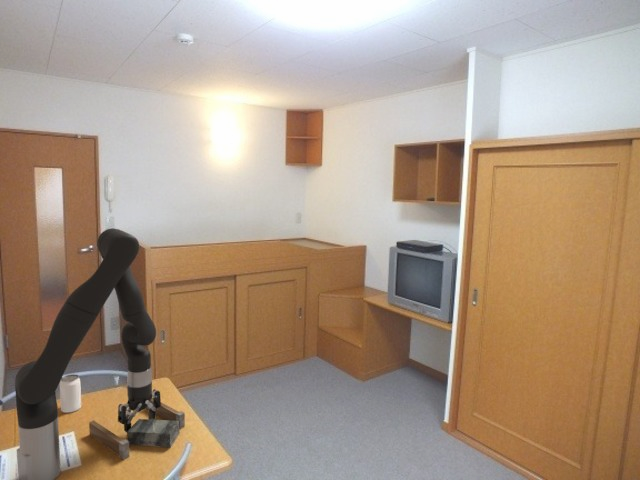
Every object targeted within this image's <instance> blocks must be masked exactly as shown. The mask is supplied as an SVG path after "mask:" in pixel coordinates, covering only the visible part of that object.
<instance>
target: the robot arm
mask: <svg viewBox="0 0 640 480" xmlns="http://www.w3.org/2000/svg"><path fill="white" fill-rule="evenodd" d="M96 247H97V250H98V252H99V255H100V257H101V258H102V260H101V262H100V264H99V266H98V268H97V269H96V271H95V272H94V273H93V274H92V275H91V276H90V277H89V278H87V280H86V281H84V282H83V283H81V284H80V285H79V286H78V287H77V288H75V289H74V290H73V291H72V292H71V293H70V294H69V296H68V297H67V298H66V301H65V302H64V303H63V305H62V307H61V308H60V309H59V311H58V313H57V315H56V318H55V319H54V321H53V323H52V324H53V325H52V327H51V330H50V332H49V336H48V339H47V342H46V344H45V346H44V349H43V351H42V352H41V354H40V356H39V357H38V358H37V360H32V361H29V362H27V363H26V364H24V365H22V366H21V367H20V368H19V370H18V371H17V373H16V375H15V378H14V379H15V380H14V387H15V390H14V391H15V401H16V402H15V403H16V415H17V426H18V443H19V448H17V449H16V460H17V474H18V476H17V477H18V480H55V479H57V478H58V477H59V476H60V473H61V471H62V470H61V454H60V453H61V452H60V451H61V450H60V434H59V433H60V431H59V430H60V429H59V427H60V426H59V409H58V408H59V407H58V401H57V394H56V391H57V388H58V387H59V386H60V382H61V378H62V377H64V373H65V372H66V369H67V367H68V365H69V363H70V361H71V360H72V358H73V356H74V354H75V353H76V351H77V350H78V348H79V347H80V345H81V344H82V342H83V340H84V338H85V337H86V335H87V334H88V332H89V331H90V329H91V328H92V326H93V325H94V323H95V322H96V320H97V318H98V316H99V314H100V313H101V311H102V309H103V307H104V306H105V304H106V302H107V301H108V299H109V297H110V296H111V294H112V293H113V291H114V290H115V294H116V298H117V301H118V306H119V310H120V313H121V317H122V319H123V320H124V321H125V322H127V323H125V325H124V326H122V329H121V336H120V337H121V343H122V345H123V348H124V351H125V354H126V357H127V374H126V375H127V376H126V380H127V381H126V386H127V389H126V390H127V393H126V394H127V402H126V403H124V404H122V403H119V404H118V407H117V422H118V423H120V424H122V425H123V429H124V430H123V431H124V432H125V433H127V431H128V430H129V429H130V428H131V427H132V420H133V419H134V418H135V417H136V415H137V413H140V412H141V411H143V410H147V409H146V407H148V408H149V409H150V410H149V411H148V419H151V420H152V419H154V420H156V414H155V411H156V409H157V408H158V407H160V406H161V403H162V401H161V400H162V399H161V391H160V390H157V389H156V388H155V389H153V373H152V372H153V371H152V359H151V358H152V354H151V352H150V350H149V349H147V348H145V347H143V346H150V345H151V344H153V343H154V341H155V340H156V336H157V329H156V326H155V323H154V321H153V320H152V318H151V317H150V315H149V313H148V311H147V310H146V306H145V302H144V297H143V293H142V292H141V289H140V286H139V285H138V282H137V281H136V279H135V277H134V275H133V273H132V270H131V267H130V266H131V265H132V264H133V262H134V261H135V259H136V258H137V256H138V254H139V251H140V242H139V240H138V238H137V237H136V236H134V235H132V234H130V233H128V232H126V231H124V230H121V229H119V228H114V227H113V228H107V229H105V230H103V231H102V232H101V233H100V234H99V235H98V237H97V242H96ZM152 398H153V402H154V404H152V403H150V401H151V399H152Z"/></svg>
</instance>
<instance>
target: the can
mask: <svg viewBox="0 0 640 480" xmlns="http://www.w3.org/2000/svg"><path fill="white" fill-rule="evenodd" d="M81 390H82V389H81V379H80V376H79V375H78V374H74V373H73V374H67V375H63V376H62V378H61V380H60V383H59V398H60V399H59V400H60V401H59V402H60V411H61V412H62V413H64V414H71V413H76V412H77V411H79V410H80V409H81V407H82V391H81Z"/></svg>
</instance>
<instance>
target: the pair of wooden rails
mask: <svg viewBox="0 0 640 480" xmlns="http://www.w3.org/2000/svg"><path fill="white" fill-rule="evenodd" d="M150 403H152V404H154V402H153V397H152V399H151V401H150ZM145 410H147V411H148V412H149V410H150V409H149V408H148V407H146V409H145ZM155 416H157V417H159V418H161V419H162V420H170V421H179V430H180V429H182V428H185V425H186V424H185V423H186V422H185V421H186V420H185V418H186V417H185V416H186V415H185V412H184V411H182V410H180V411H178V410H176V409H175V408H173V407H170V406H169V405H167V404H166V403H163V402H161V406H160V407H158V408H157V409H156V411H155ZM88 423H89V424H88V425H89V427H88V428H89V430H88V431H89V436H91V437H92V438H93V439H95V440H96V441H97V442H99V443H100V444H102V445H103V446H104V447H106V448H107V449H109V450H110V451H112V452H113V453H114V454H115V455H118V456H119V458H120V459H121V460H122V461H124V460H125V459H128V458H130V445H129V441H128V440H127V438H125V439H122V438H121V437H120V436H118V435H117V434H115V433H114V432H112V431H111V430H110V429H108V428H106V427H105V426H103V425H102V424H101V423H98V422H97V421H95V420H91V421H89V422H88Z"/></svg>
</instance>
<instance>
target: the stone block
mask: <svg viewBox="0 0 640 480" xmlns="http://www.w3.org/2000/svg"><path fill="white" fill-rule="evenodd" d="M180 431H181V430H180V429H179V421H170V420H164V419H152V420H151V419H149V418H148V419H145V418H138V419H137V421H136V422H135V423H133V424H132V425H131V428H130V429H129V430H128V431H127V432H126V440H128V441H129V446H140V447H141V446H148V447H149V446H151V447H157V448H169V449H170V448H171V447H172V446H173V444H174V443H175V441H176V440H177V438H178V436H180V433H181V432H180Z"/></svg>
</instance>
